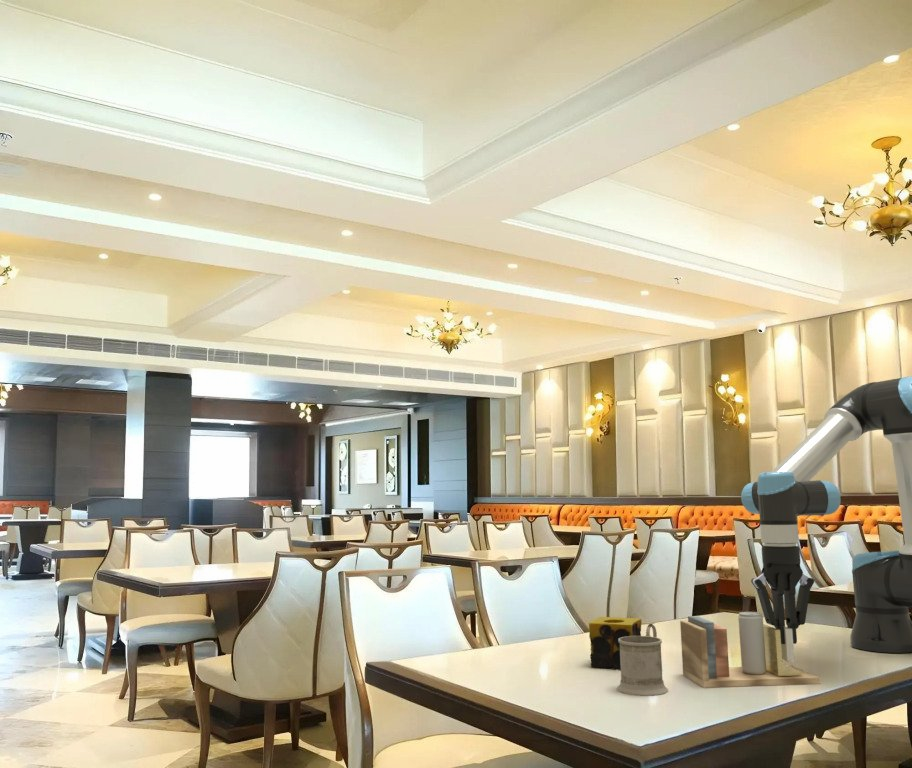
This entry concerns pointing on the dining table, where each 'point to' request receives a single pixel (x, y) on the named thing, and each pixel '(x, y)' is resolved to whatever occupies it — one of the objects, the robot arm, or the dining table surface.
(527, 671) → the dining table surface
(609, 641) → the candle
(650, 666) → the mug
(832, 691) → the dining table surface
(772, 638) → the bookend
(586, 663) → the dining table surface
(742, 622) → the beverage can
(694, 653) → the shelf
